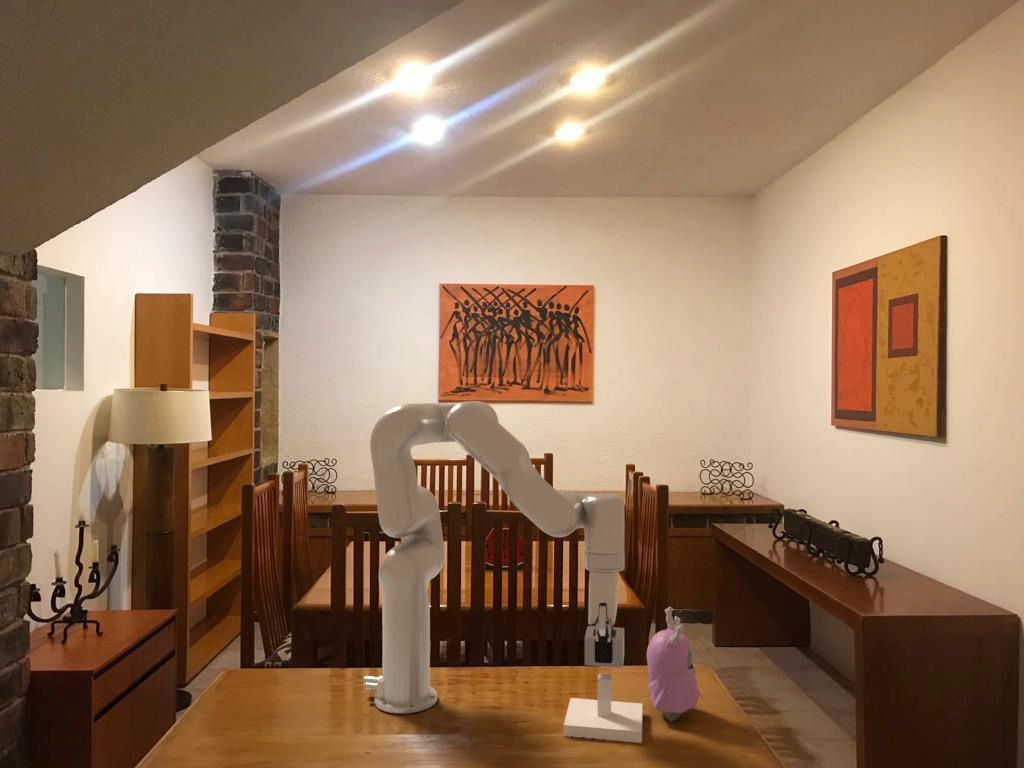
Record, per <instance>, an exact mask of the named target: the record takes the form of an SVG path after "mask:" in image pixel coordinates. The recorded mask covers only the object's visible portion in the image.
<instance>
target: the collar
mask: <svg viewBox="0 0 1024 768" xmlns="http://www.w3.org/2000/svg"><path fill="white" fill-rule="evenodd" d="M606 630H608V628H606ZM584 634H585V635H584V666H593V667H609V668H624V661H625V659H624V658H625V627H615V626H613V627H611V641H612V663H596V662H595V640H596V625H587V627H586V630H585V633H584Z"/></svg>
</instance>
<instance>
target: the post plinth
mask: <svg viewBox="0 0 1024 768" xmlns="http://www.w3.org/2000/svg"><path fill="white" fill-rule="evenodd" d="M571 736H573V737H571ZM563 737H568V738H569V737H570V738H580V737H585V738H584V739H591V738H595V739H594V740H603V739H605V740H604V741H618V742H627V743H638V744H639V743H640V744H642V743H643V702H642V703H639V702H629V701H628V702H626V701H614V700H612V674H609V673H608V674H607V673H598V675H597V699H590V698H579V697H570V699H569V703H568V707H567V711H566V713H565V719H564V723H563Z"/></svg>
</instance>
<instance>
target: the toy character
mask: <svg viewBox="0 0 1024 768" xmlns="http://www.w3.org/2000/svg"><path fill="white" fill-rule="evenodd" d="M673 611H674V608H673V607H672V606H669V607H667V608H665V609H664V613H665V614H666V616H665V622H666V624H667V628H666V629H662V630H659V631H658V632H656V633H655V634H654V635H653V636H652V638H651V639H650V642H649V643H648V646H647V649H646V663H647V675H648V683H647V684H648V694H649V696H650V702H651V704H652V705H653V707H654V709H656V710H658V711H661V712H662V714H663V715H664V717H665V718H666V720H667V721H669V722H675V721H677V720H678V719H679V718H680V716H681V715H682V714H684V713H685V712H687V711H689V710H693V709H695V708H696V707H697V705H698V700H699V697H701V696H702V693H701V692H700V690H699V686H698V681H697V675H696V672H697V671H696V668H695V666H694V665H693V663H692V662H693V658H692V657H693V653H692V651H691V647H690V646H689V645H690V640H689V638H687V637H686V636H685V635H684V634H683V633H682V631H683V630H684V628H685V627H684V625H683V624H681V618H680V617H678V616H677V615H676V616H674V617H673V616H672V615H673V613H672V612H673Z"/></svg>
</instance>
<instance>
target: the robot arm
mask: <svg viewBox="0 0 1024 768" xmlns="http://www.w3.org/2000/svg"><path fill="white" fill-rule="evenodd" d="M369 443H370V444H369V449H370V456H371V462H372V469H373V479H374V489H375V498H376V505H377V516H378V520H379V527H380V528H381V530H382V532H384V534H386V535H387V536H389V537H390V538H396V539H400V541H401V543H400V544H398V545H396V546H394V547H392V548H390V549H389V551H387V552H386V553H385V555H384V556H383V557H382V560H381V561H380V564H379V569H378V583H379V589H380V596H381V608H382V609H381V610H382V612H381V614H382V619H381V620H382V624H381V625H382V655H381V656H382V660H381V661H382V663H381V665H382V667H381V668H382V671H381V672H382V675H379V676H378V677H377V676H373V675H365V676H364V678H363V686H364V690H366V691H375V692H376V693H375V694H374V701H373V702H374V706H375V707H376V708H378V709H379V710H381V711H384V712H386V713H391V714H412V713H418V712H422V711H425V710H427V709H430V708H431V707H433V706H434V705H435V704H436V702H438V692H437V689H435V688H434V687H432V686H431V685H430V683H431V681H430V680H431V679H430V678H431V677H430V675H431V667H430V665H431V664H430V663H431V648H430V647H431V616H430V615H431V614H430V613H431V609H430V600H429V596H428V589H427V584H428V582H430V581H431V580H432V579H434V578H435V577H436V576H438V574H439V573H441V571H442V569H443V567H444V563H445V558H446V557H445V546H444V536H443V529H442V528H443V527H442V521H441V512H440V507H439V503H438V502H437V501H438V500H437V499H436V497H435V496H434V494H433V493H432V491H430V490H429V489H428V488H427V487H424V486H421V485H418V480H417V470H416V465H415V462H414V458H413V456H412V453H411V450H412V448H413V447H416V446H420V445H426V444H434V443H435V444H436V443H457V445H458V446H460V448H462V449H463V450H464V451H465V452H466V453H467V454H468V455H469V456H470V457H472V458H473V459H474V460H475V462H477V463H478V464H479V465H480V466H481V467H482V468H484V469H485V470H486V471H487V472H488V473H489V474H490V475H491V476H492V477H493V478H494V479H495V480H496V481H497V482H498V485H499V487H500V488H501V489H502V490H503V492H504V493H505V494H506V495H507V497H508V498H509V500H510V501H511V503H513V505H514V506H515V507H516V508H517V509H518V510H519V512H521V513H522V515H524V516H526V518H527V519H529V521H530V522H532V523H533V524H534V525H535V526H536V527H537V528H538V529H540V530H541V531H542V532H543V533H545V534H546V535H549V536H551V537H553V538H564V537H567V536H570V535H571V534H572V533H573V532H574V531H575V530H577V529H581V528H583V531H584V550H583V551H584V563H583V565H584V566H583V567H584V569H585V570H587V571H589V575H588V576H589V579H588V580H589V581H588V617H587V618H588V620H587V621H588V622H587V624H589V626H593V625H594V624H595V626H596V640H595V662H596V663H612V641H611V627H614V625H615V623H616V617H617V612H618V611H617V610H618V601H619V600H618V599H619V572H622V571H624V570H625V569H626V568H625V567H626V566H625V565H626V564H625V560H626V559H625V551H626V550H625V501H624V498H623V497H621V496H620V495H618V494H613V493H585V492H580V491H576V490H560V491H557V490H556V489H555V488H554V487H553V486H552V485H551V484H550V483H549V482H548V481H547V480H545V478H544V477H543V476H542V475H541V474H540V473H539V472H538V470H537V469H536V468H535V466H534V465H533V463H532V460H531V457H530V453H529V451H528V449H527V447H526V446H525V445H524V444H523V443H522V442H521V441H520V440H519V439H517V438H516V437H515V436H514V434H512V433H511V432H509V431H508V430H507V429H506V428H505V426H503V425H502V424H501V423H499V418H498V415H497V413H496V411H495V409H494V408H493V407H492V406H491V405H489V403H487V402H484V401H478V400H469V401H468V400H467V401H462V402H441V403H440V402H435V403H434V402H433V403H432V402H431V403H429V402H427V403H407V404H402V405H398V406H395V407H393V408H391V409H389V410H388V411H386V412H385V413H384V414H383V415H381V417H380V418H379V419H378V420H377V422H376V423H375V424H374V426H373V429H372V431H371V434H370V442H369ZM606 628H608V630H606Z"/></svg>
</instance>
